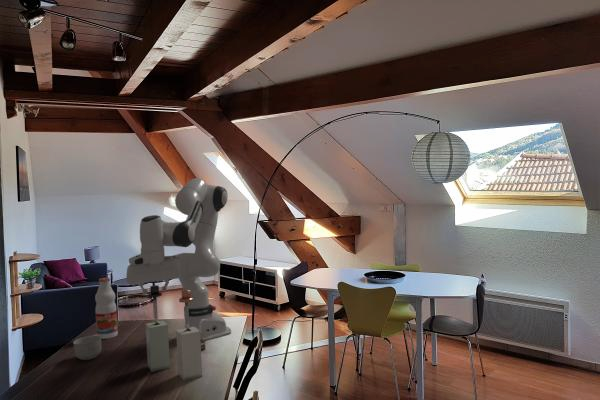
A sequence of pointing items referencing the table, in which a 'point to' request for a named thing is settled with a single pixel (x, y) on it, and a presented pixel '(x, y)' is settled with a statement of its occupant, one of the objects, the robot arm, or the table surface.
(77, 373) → the table surface
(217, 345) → the table surface
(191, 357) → the block
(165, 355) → the block
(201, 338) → the architectural model
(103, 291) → the fruit juice
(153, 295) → the black plunger
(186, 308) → the terracotta plunger
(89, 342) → the teacup
